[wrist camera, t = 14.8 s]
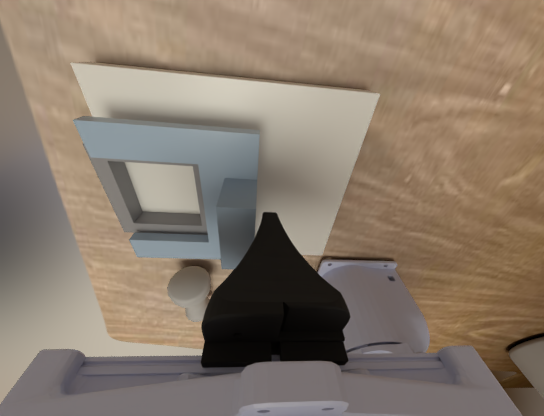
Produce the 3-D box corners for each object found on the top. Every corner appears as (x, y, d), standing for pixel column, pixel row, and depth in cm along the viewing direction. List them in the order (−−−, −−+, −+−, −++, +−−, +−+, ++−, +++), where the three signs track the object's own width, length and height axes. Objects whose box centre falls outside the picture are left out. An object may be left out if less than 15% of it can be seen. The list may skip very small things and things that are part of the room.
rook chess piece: (217, 287, 22) (222, 316, 27) (201, 257, 24) (209, 289, 30) (173, 311, 20) (188, 337, 25) (161, 275, 22) (177, 306, 27)
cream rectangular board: (369, 90, 14) (392, 97, 11) (318, 244, 23) (325, 267, 20) (87, 61, 12) (44, 63, 10) (152, 239, 21) (139, 262, 19)
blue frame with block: (259, 130, 12) (259, 156, 9) (253, 252, 18) (251, 293, 15) (83, 115, 11) (15, 139, 8) (141, 249, 17) (116, 291, 14)
